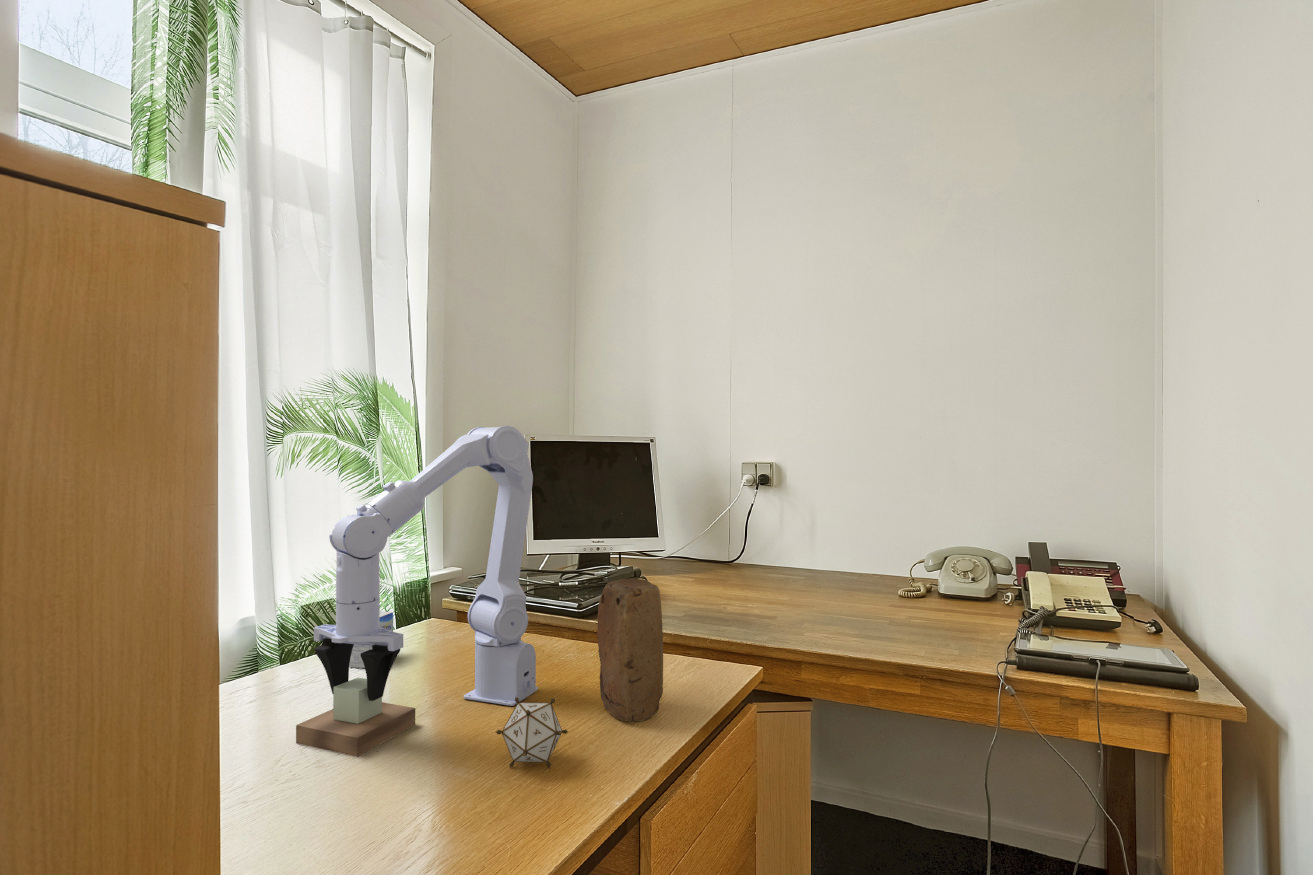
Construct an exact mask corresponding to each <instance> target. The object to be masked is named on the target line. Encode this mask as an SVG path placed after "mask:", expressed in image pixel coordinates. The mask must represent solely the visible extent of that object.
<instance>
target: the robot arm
mask: <svg viewBox="0 0 1313 875" xmlns="http://www.w3.org/2000/svg"><path fill="white" fill-rule="evenodd" d="M529 445H530V444H529V441H528V440H527V439H526V438H525V437H524V435H523V434H522V433H521V432H520V431H519V429H517V428H516V427H514V426H511V425H503V426H492V427H491V426H490V427H489V426H488V427H486V426H477V427H474V428H472V429H471V430H469V431H468V432H467V433H466V434H464V435H461V436H460V437H458V438H457V439H456V440H455V442H454V443H452V445H450V446H449V447H448V448H446V450H444V451H443V452H442V453H441V454H440V455H439V456H437V457H436V458H435V459H434V460H433V461H431V463H429V464H428V465H427V466H426V467H424V469H422V470H421V471H420V472H419V473H417V474H416V475H415V476H414V477H413V478H411V479H410V480H409V481H408V480H402V479H401V480H400V479H398V480H396V481H395V482H392V481H389V482H387V483H385V484H384V485H383V486H382V490H383V491H381V492H380V493H379V494H377V495H376V496H375V497H374V498H372V499H371V500H370V501H368V502H367V503H366V504H359V505H358V506H357V507H356V509H355V510H356V511H357V512H356V513H357V514H350V515H349V514H348V515H346V516H344V517H342V518H340V519H339V520H338V521H337V522H336V523H335V524H334V528H333V529H332V532H331V534H329V542H330V544H331V546H332V548H333V549H334V550H335V551H336V568H335V624H321V625H317V626H314V627H313V641H314V642H322V643H321V644H320V645H318V646H316V647H314V654H315V655H316V656H317V657H318V659H319V661H320V662H321V664H322V666H323V668H324V671H325V673H326V676H327V678H328V683H329V686H330V690H331V693H332V695H333V694H334V687H335V686H338V685H340V684H343V683H345V682H348V681H349V676H350V667H349V664H350V658H351V653H352V649H353V646H354V644H356V645H364V646H371V647H372V650H368V651H365V652H363V653H361V658H362V661H363V663H364V667H365V668H364V669H365V675H366V679H367V693H368V699H369V701H374V700H376V699H378V698H381V697H382V698H383V697H384V693H385V689H386V685H387V681H388V679H389V678H388V677H389V674H390V671H391V669H392V666H393V665H394V663H395V660H396V659H397V656H398V655H399V653H400V652H401V649H403V648H404V633H400V632H396V631H394V630H393V631H390V630H387V629H384V628H381V627H379V616H380V612H381V610H380V609H381V608H380V604H381V603H380V601H381V600H380V599H381V598H380V587H381V586H380V580H381V579H380V574H381V573H380V572H381V571H380V567H381V566H380V552H382V551H383V550H384V549H385V547H386V545H387V542H388V538H389V537H391V536H392V535H393V534H394V533H395V532H397V531H398V530H399V529H400V528H402V527H403V526H404V525H406V524H407V523H408V522H409V521H410V520H411V519H413V518H414V517H416V515H418V514H419V513H420V512H421V511H422V510H424V507H425V506H424V505H425V501H426V500H425V499H426V497H427V496H429V495H431V493H433V492H434V491H436V490H438V488H439V487H441V486H443V485H444V484H445V483H447V482H448V481H450V480H451V479H452V478H453V477H455V476H456V475H458V474H459V473H460V472H462V471H463V470H464V469H466V468H470V467H471V468H472V467H480V468H481V469H484V470H485V471H487V473H489V475H490V476H491V477H492V478H493V480H494V481H495V482H496V483H497V484H498V490H497V491H498V492H497V498H496V504H495V505H496V506H495V512H494V520H493V525H492V533H491V539H490V545H489V552H488V553H489V554H488V559H487V566H486V573H485V578H484V580H483V581H482V582H481V583H480V584H479V585H478V586H477V588H476V590H475V591H476V592H475V597H474V599H473V601H472V603H471V604H470V606H469V608H468V611H467V622H468V625H469V627H470V628H471V629H472V630H473V631H474V689H473V690H471V691H468V692H467V693H465V694H463V699H465V700H471V701H477V702H484V703H490V704H497V705H504V706H508V707H509V706H510V707H511V706H512V707H514V706H516V705H517V703H516V701H515V697H517V698H519V702H522V701H524V699H526V698H527V697H529V696H531V695H532V694H533V693H535V692H537V691H538V690H539V687H538V686H537V683H536V682H537V677H536V676H537V671H536V670H537V669H536V668H537V662H536V661H537V660H536V659H537V657H536V656H537V655H536V654H537V653H536V650H535V647H534V646H533V644H531V643H528V642H525V641H524V640H522V637H523V636H524V634H525V632H526V631H527V628H528V624H529V615H528V613H527V607H526V606H527V605H526V602H527V596H526V594H525V591H524V590H523V588H522V586H521V584H520V576H521V568H522V561H523V554H524V553H523V552H524V548H525V540H526V532H527V526H528V518H529V512H530V506H531V505H530V504H531V503H530V502H531V497H532V490H533V482H534V474H533V471H532V467H531V463H530V459H529V455H528V452H529Z"/></svg>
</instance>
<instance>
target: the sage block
mask: <svg viewBox="0 0 1313 875" xmlns="http://www.w3.org/2000/svg"><path fill="white" fill-rule="evenodd" d="M332 695H333V704H332V705H333V707H332V709H333V719H334V720H339V721H345V722H351V723H356V724H359V723H361V722H363V721H365V720H367V719H369V718H371V717H373V716H375V715H378V714H380V713H382V702H383V697H381V698H378V699H376V700H374V701H369V699H368V693H367V678H365V677H364V678H363V677H356V678H353V679H350V680H348V682H345V683H343V684H340V685H338V686H335V687H334V694H332Z"/></svg>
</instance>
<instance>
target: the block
mask: <svg viewBox="0 0 1313 875" xmlns="http://www.w3.org/2000/svg"><path fill="white" fill-rule="evenodd" d="M596 624H597V625H596V626H597V627H596V628H597V631H596V632H597V633H596V634H597V648H598V649H597V650H598V658H599V662H600V665H599V667H600V671H599V692H600V698H601V701H602V703H603V706H604V708H605V710H606V711H607V712H609V713H610V715H611V716H612V717H614V718H615V719H617V720H620V721H623V722H628V723H631V722H642V721H646V720H649V719H651V718H652V716H654V715H655V714H657V713H658V712H659V710H660V701H661V699H662V696H663V692H664V687H663V686H664V641H663V640H664V634H663V632H664V631H663V613H662V600H661V592H660V588H659V586H658V585H657V584H654V583H651V582H650V581H649V580H647V579H643V578H636V577H632V578H621V579H617V580H611V581H609V582H607V583H606V584H605V586H604V587H603V590H602V592H601V595H600V598H599V600H598V607H597V623H596ZM641 720H642V721H641Z"/></svg>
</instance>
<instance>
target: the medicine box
mask: <svg viewBox="0 0 1313 875" xmlns="http://www.w3.org/2000/svg"><path fill="white" fill-rule="evenodd" d="M379 627H381V628H384V629H387V630H390V631H393V632H394V613H393V612H391V611H380V616H379ZM368 650H372V647H371V646H364V645H356V644H354V646H353V649H352V653H351V658H350V664H349V668H352V669H365V667H364V663H363V661H362V658H361V653H363V652H365V651H368Z"/></svg>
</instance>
